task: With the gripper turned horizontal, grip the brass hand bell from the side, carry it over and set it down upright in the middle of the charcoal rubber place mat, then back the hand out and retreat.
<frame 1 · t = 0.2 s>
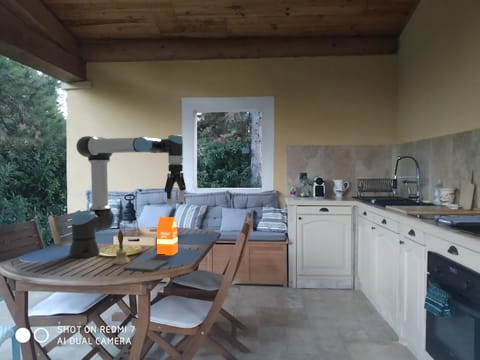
hand: (175, 203, 193), 28 cm above the table, tool pointing down, fingers open, 13 cm apart
hand bell: (121, 262, 180), on the table
orange juice: (167, 253, 197), on the table
place mat: (146, 265, 173), on the table
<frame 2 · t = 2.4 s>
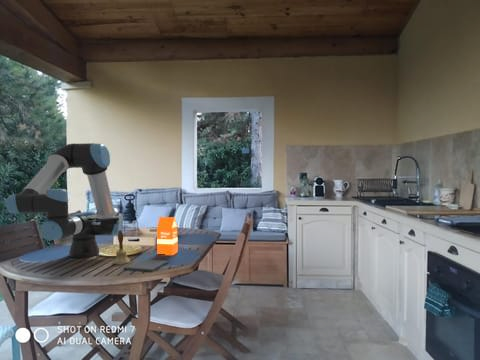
hand: (108, 217, 170), 24 cm above the table, tool horizontal, fingers open, 13 cm apart
nothing on the table moved.
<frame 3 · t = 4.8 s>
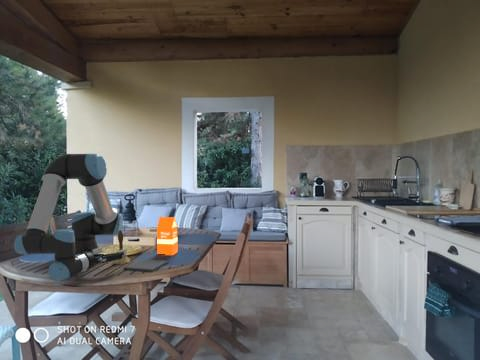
hand: (113, 250, 174), 7 cm above the table, tool horizontal, fingers open, 13 cm apart
nothing on the table moved.
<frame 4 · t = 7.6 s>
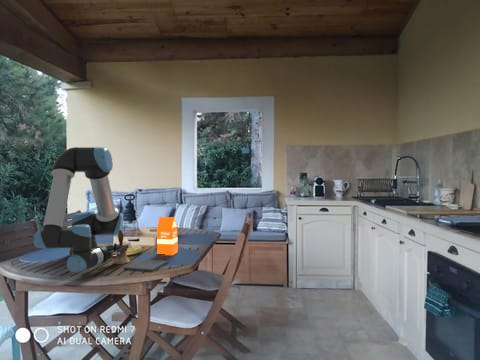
hand: (127, 244, 185), 8 cm above the table, tool horizontal, fingers closed on hand bell, 2 cm apart
hand bell: (121, 262, 180), on the table, touching gripper
everything else where it was.
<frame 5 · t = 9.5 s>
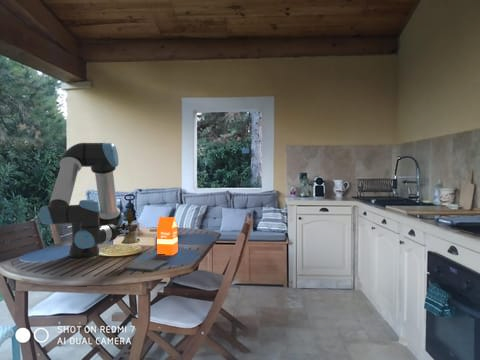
hand: (136, 225, 180), 18 cm above the table, tool horizontal, fingers closed on hand bell, 2 cm apart
hand bell: (130, 242, 175), point 11 cm above the table, touching gripper
everything else where it was.
when the fingers open (9 cm above the table, at t = 11.9 s): hand bell stays where it is, resting on place mat.
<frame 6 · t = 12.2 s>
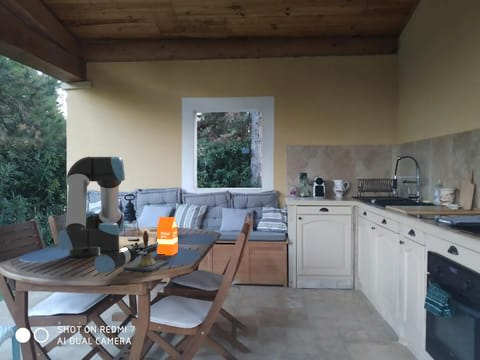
hand: (151, 244, 177), 10 cm above the table, tool horizontal, fingers open, 6 cm apart
hand bell: (146, 264, 173), point 1 cm above the table, touching place mat
everything else where it was.
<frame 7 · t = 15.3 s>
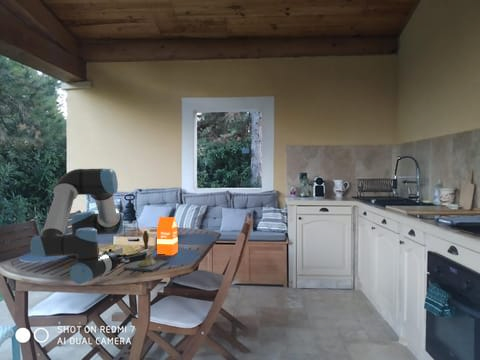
hand: (134, 250, 163), 10 cm above the table, tool horizontal, fingers open, 13 cm apart
nothing on the table moved.
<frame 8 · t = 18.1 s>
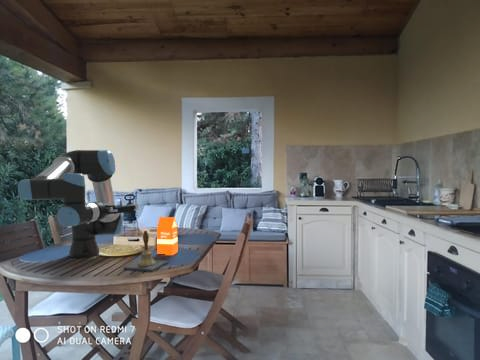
hand: (124, 205, 164), 30 cm above the table, tool horizontal, fingers open, 13 cm apart
nothing on the table moved.
at the end: hand bell inside the target area on the place mat (0.1 cm from its centre), point 0.8 cm above the place mat's base; hand bell tilted 0°; the gripper is holding nothing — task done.
